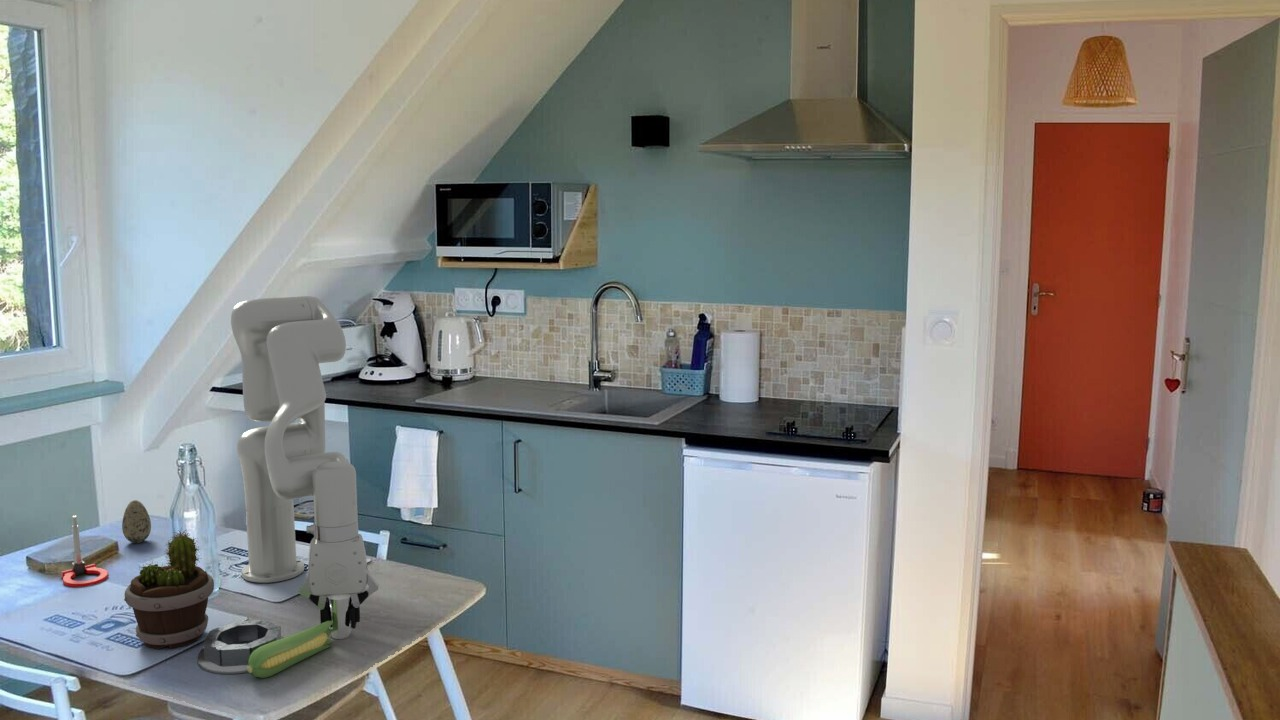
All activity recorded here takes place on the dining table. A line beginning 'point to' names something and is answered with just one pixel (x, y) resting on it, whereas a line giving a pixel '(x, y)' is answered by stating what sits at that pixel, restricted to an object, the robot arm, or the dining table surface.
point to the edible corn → (289, 650)
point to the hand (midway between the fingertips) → (340, 625)
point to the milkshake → (339, 615)
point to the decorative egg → (136, 522)
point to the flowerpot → (171, 597)
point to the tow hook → (81, 565)
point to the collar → (235, 645)
